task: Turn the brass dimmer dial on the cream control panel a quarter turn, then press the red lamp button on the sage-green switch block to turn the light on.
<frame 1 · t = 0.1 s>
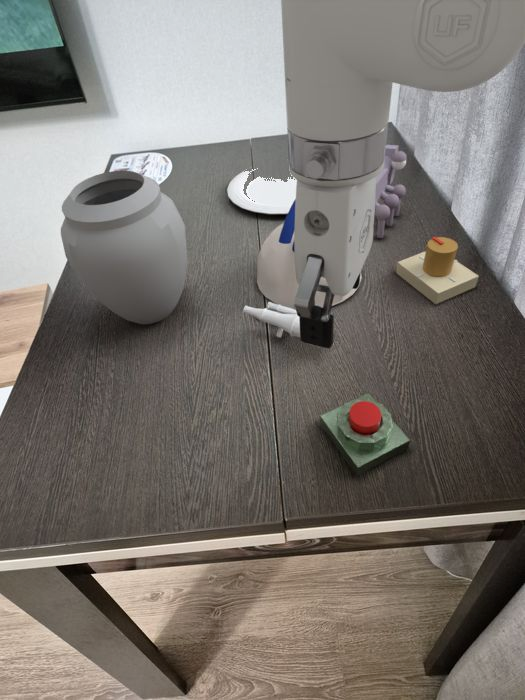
hand: (331, 312, 46), 21 cm above the table, tool pointing down, fingers open, 9 cm apart
dimmer knob: (439, 256, 78), point 5 cm above the table, hinge at 0.0°
switch block: (362, 436, 60), on the table
plate: (284, 191, 111), on the table
lavender toy animal: (376, 217, 99), on the table
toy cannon: (288, 334, 75), on the table
dimmer panel: (434, 279, 81), on the table
vase: (152, 311, 83), on the table
lamp button: (364, 417, 56), point 4 cm above the table, slide at 0.1 cm
kettle: (308, 277, 86), on the table
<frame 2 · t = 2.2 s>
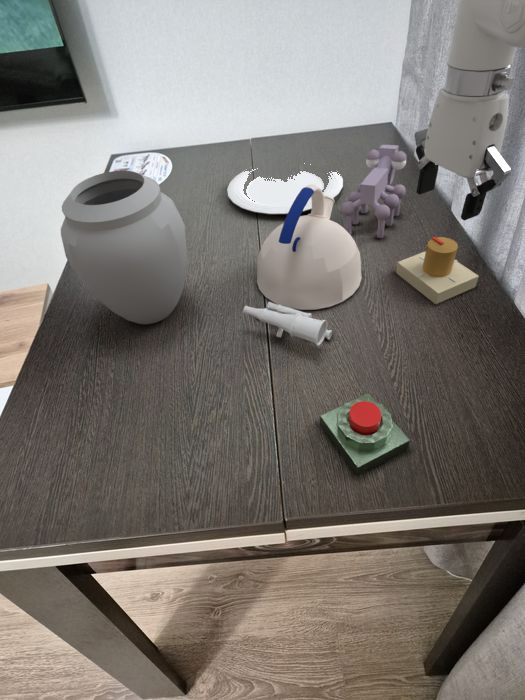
hand: (446, 203, 68), 16 cm above the table, tool pointing down, fingers open, 9 cm apart
nothing on the table moved.
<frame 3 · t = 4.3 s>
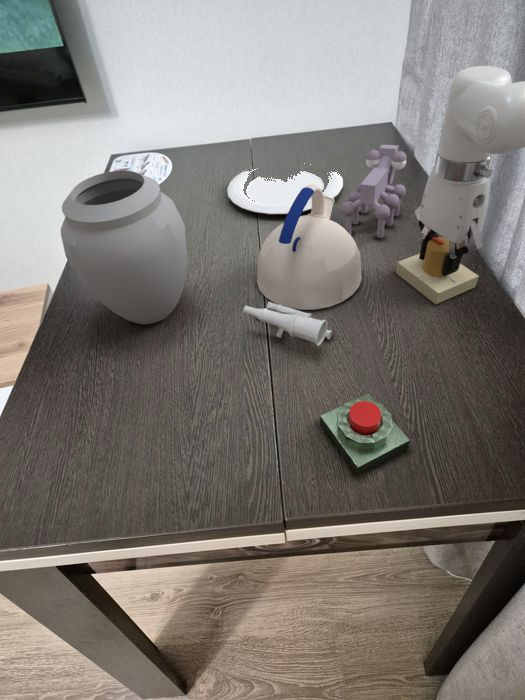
hand: (438, 264, 79), 4 cm above the table, tool pointing down, fingers closed on dimmer knob, 5 cm apart
dimmer knob: (439, 256, 78), point 5 cm above the table, hinge at 0.0°, touching gripper
everything else where it was.
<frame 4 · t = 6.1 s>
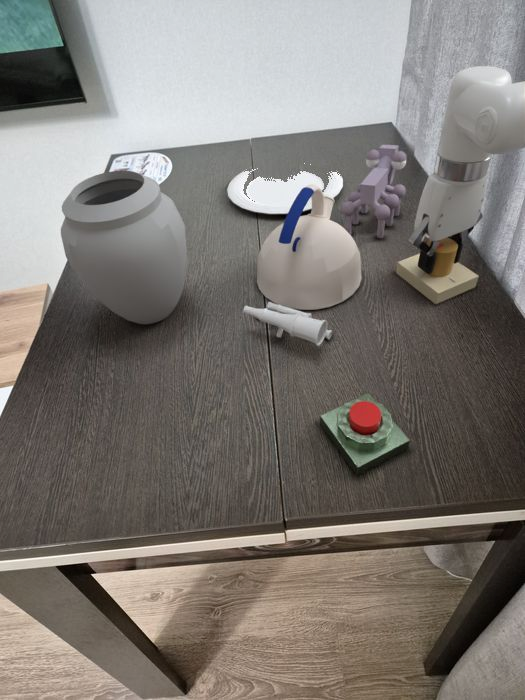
hand: (437, 264, 79), 4 cm above the table, tool pointing down, fingers closed on dimmer knob, 5 cm apart
dimmer knob: (439, 256, 78), point 5 cm above the table, hinge at 90.4°, touching gripper
everything else where it was.
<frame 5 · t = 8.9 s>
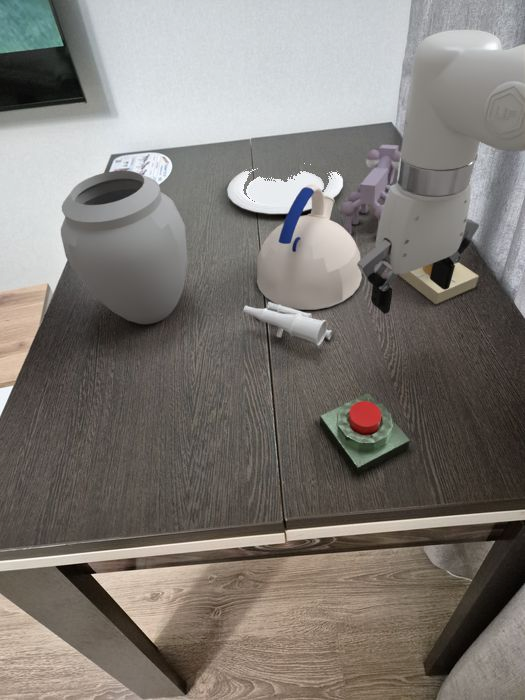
hand: (410, 295, 60), 13 cm above the table, tool pointing down, fingers open, 9 cm apart
dimmer knob: (439, 256, 78), point 5 cm above the table, hinge at 90.3°
everything else where it was.
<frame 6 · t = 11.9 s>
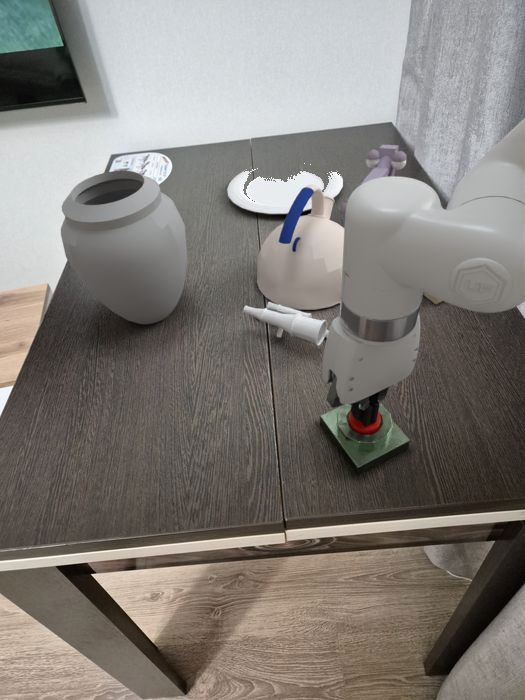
hand: (363, 416, 56), 5 cm above the table, tool pointing down, fingers closed
lamp button: (364, 421, 57), point 4 cm above the table, slide at -0.7 cm, touching gripper
everything else where it was.
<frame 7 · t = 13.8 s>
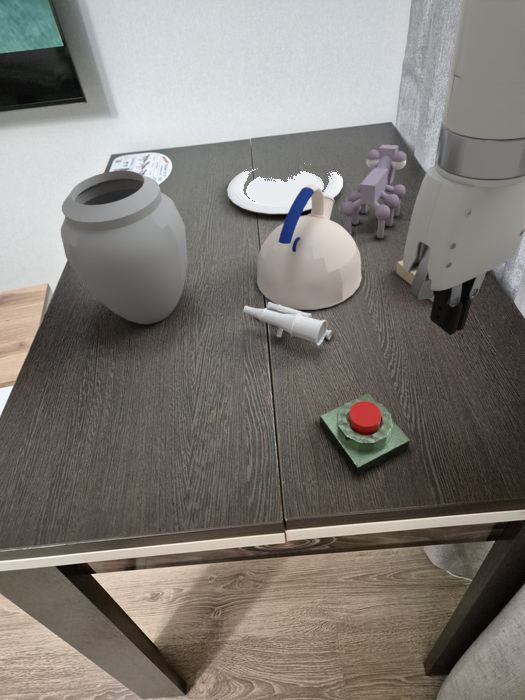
hand: (446, 324, 46), 19 cm above the table, tool pointing down, fingers closed
lamp button: (364, 417, 56), point 4 cm above the table, slide at 0.1 cm
everything else where it was.
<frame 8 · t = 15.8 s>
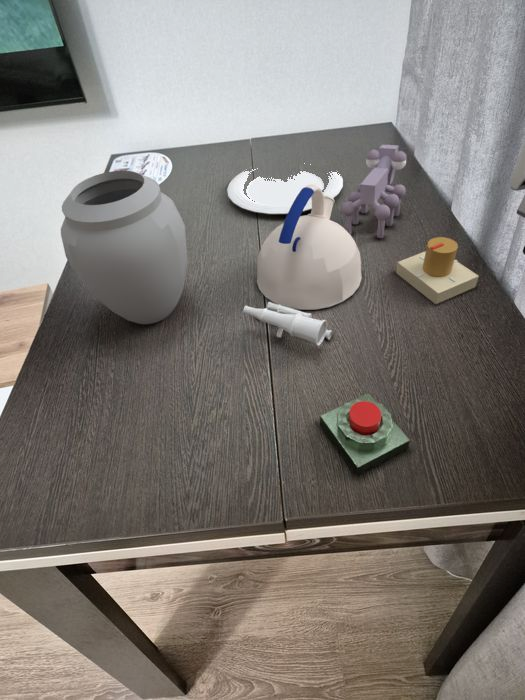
nothing on the table moved.
at the end: dimmer knob at +90° (first picture: +0°); lamp button pushed in 1.1 cm at the most during the clip, back to where it started at the end; lamp button slide at 0.1 cm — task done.
